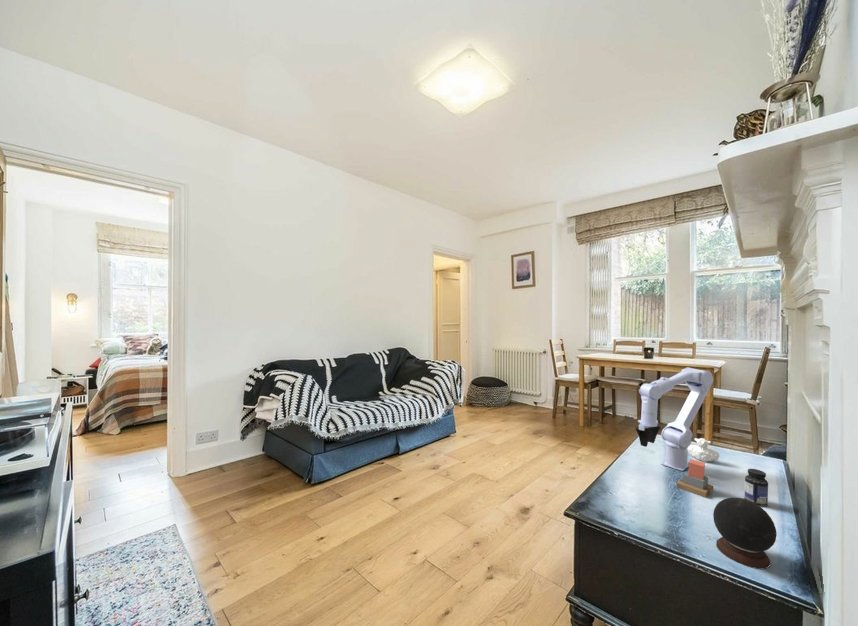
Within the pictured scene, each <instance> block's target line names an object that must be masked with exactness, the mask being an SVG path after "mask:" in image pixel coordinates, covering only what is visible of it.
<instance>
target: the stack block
mask: <svg viewBox="0 0 858 626" xmlns="http://www.w3.org/2000/svg"><path fill="white" fill-rule="evenodd" d="M688 464H689V467H688V472H687V473H688V476H692V477H695V478H699V479H702V480H703V478H704V476H705V470H706V469H705V468H706V462H705V461H700V460H697V459H696V460H695V459H692V458H690V459H689V462H688Z"/></svg>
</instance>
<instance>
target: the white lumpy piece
mask: <svg viewBox="0 0 858 626" xmlns="http://www.w3.org/2000/svg"><path fill="white" fill-rule="evenodd" d="M694 441H696V444H690V446H689V447H688V448H687V450H688V455H690V456H691V457H693V458H695V459H696V460H697V461H700V460H701V461H700V462H704V463H706V462H717V461H718V460H719V458H720V453H719V452H718V451H716V450H715V449H711V448H708V447H709V445H710V444H711V441H710V440H706V438H702V437H700V438H697V437H695V438H694Z"/></svg>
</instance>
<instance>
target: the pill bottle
mask: <svg viewBox="0 0 858 626" xmlns="http://www.w3.org/2000/svg"><path fill="white" fill-rule="evenodd" d="M747 473H748V474H747V475H745V477H744V499H746V500H749V501H751V502H753V503H755V504H757V505H758V506H760V507H766V506H768V504H769V500H768V499H769V482H768V481H767V479H766V478H767V474H766V472H765V471H763V470H759V469H756V468H748V469H747Z"/></svg>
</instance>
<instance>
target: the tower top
mask: <svg viewBox="0 0 858 626" xmlns="http://www.w3.org/2000/svg"><path fill="white" fill-rule="evenodd" d="M683 478H684V483H686V484H689V485H692V486H694V487H697V488H700V489H704V488H705V487H706V486H707V485H708V484H709V476H707V475H704V478H703V480H702V479H699V478H695V477H692V476H688V472H686V473H685V474H684V475H683Z"/></svg>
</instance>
